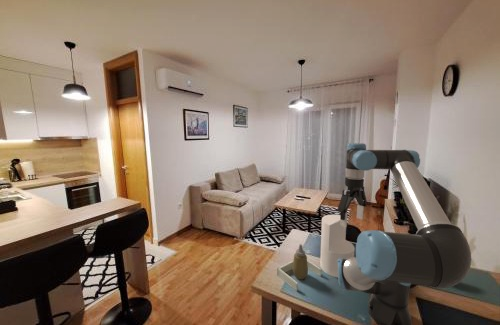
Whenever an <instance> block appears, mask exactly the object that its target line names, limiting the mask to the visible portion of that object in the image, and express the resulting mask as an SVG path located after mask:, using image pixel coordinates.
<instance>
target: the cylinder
mask: <svg viewBox="0 0 500 325" xmlns="http://www.w3.org/2000/svg"><path fill="white" fill-rule="evenodd" d="M320 234H321V236H320V259H319V261H320V262H319V263H320V264H319V268H321V269H322V272H324V273H325V274H327V275H329V276H330V277H334V278H335V279H336V278H338V263H337V261H338V259H347V260H348V259H349V258H353V257H355V251H356V247H355V245H354V244H353V243H352V242H350V241H348V240H347V238H346V235H347V227H343V226H341V225H340V215H339V214H328V215H324V216H322V218H321V232H320Z"/></svg>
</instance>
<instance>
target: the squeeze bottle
mask: <svg viewBox="0 0 500 325" xmlns="http://www.w3.org/2000/svg"><path fill="white" fill-rule="evenodd" d="M293 260H294V261H293ZM293 260H292V261H293V269H292V273H293V275H294V277H295V279H297V280H304V279H306V277H307V275H308V272H309V268H308V265H307V260H308V256H307V254H306V251H305V250H304V249H303V245H302V243H301V244H299V246H298V249H295V253H294V254H293Z"/></svg>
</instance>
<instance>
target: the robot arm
mask: <svg viewBox="0 0 500 325" xmlns="http://www.w3.org/2000/svg"><path fill="white" fill-rule="evenodd" d="M346 146H347V147H346V157H345V158H346V159H345V161H346V162H345V179H344V185H345V187H347V188H346V189H343V190H342V193H341V197H340V200H339V204H338V206H337V209H336V210H337V212H339V213H340V225H341V226H343V227H346V228H348V212H347V211H348V210H349V207H350V205H351V203H352V201H354V200H356V202H357V206H356V219H358V220H363V219H364V209H365V208H364V207H367V203H368V201H367V198H366V197H367V196H366V192H365V186H364V185H365V184H364V182H365V179H364V178H365V172H367V171H370V170H389V171H391V173H392V176H393V178H394V180H395V182H396V184H397V186H398V187H397V188H398V189H399V191H400V193H401V195H402V198H403V200H404V202H405V205H406V207H407V209H408V211H409V213H410V215H411V218H412V219H413V222H414V224H415V227H416V228H417V231H416V233H415V234H414V233H413V234H412V233H404V232H403V233H402V232H401V233H400V232H392V231H391V232H390V231H382V230H379V229H378V230H377V229H376V230H375V229H373V230H364V231H362V232H360V233H359V234H358V236H357V239H356V243H355V256H354V257H353V258H349V259H348V260H347V259H338V261H337V263H338V285H339V288H340V289H341V290H345V291H352V292H358V293H366V294H371V296H370V298H369V300H368V302H367V312H368V315H369V316H370V317H371V319H372V320H374V322H375V323H377V324H378V325H412V323H413V322H412V316H411V312H410V309H409V306H408V305H409V297H410V291H411V290H410V289H411V285H416V286H423V287H424V286H426V287H431V288H438V289H439V288H440V289H446V288H447V289H448V288H451V287H454V286H457V285H458V284H459V283H461V282H462V281H463V280H465V278H466V277H467V275H468V274H469V272H470V270H471V265H472V252H471V248H470V244H469V241H468V239H467V238H466V236H465V234H464V233H463V231H462V230H461V228H460V227H459V226H458V225H456V224H453V223H452V222H451V220H449V217H448V216H447V214H446V213H445V211H444V210H443V208H442V206H441V204H440V203H439V201H438V199H437V198H436V196H435V195H434V193H433V191H432V190H431V188H430V186H429V185H428V183H427V181H426V180H425V178H424V176H423V175H422V173H421V172H420V170H419V167H420V165H421V158H420V154H419V153H418V152H417V151H415V150H411V149H367V144H366V143H362V142H361V143H360V142H358V143H357V142H355V143H354V142H351V143H348V144H347V145H346Z"/></svg>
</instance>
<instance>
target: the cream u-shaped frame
mask: <svg viewBox="0 0 500 325" xmlns="http://www.w3.org/2000/svg"><path fill="white" fill-rule="evenodd" d="M293 261H294V259H292V260H291V261H289V262H287V263H285V264H283V265H281V266H279V267H277V268H276V275H277V276H278V277H279V278H280V279H281V280H283V281H284V282H285V283H286V284H287V285H289V286H290V288H292V289H293V290H295V292H297V291H298V290H299V283H298V281H296V280H295V279H294V278H293V277H291V276H290V275H289V274H287V273H286V272H289V271H291V270H293ZM307 265H308V270H311V272H313V273H314V274H316V275H317V276H319V277H322V274H323V273H322V272H323V270H322V268H321V267H320V266H318V265H316V264H315V263H313V262H312V261H310V260H309V259H307Z"/></svg>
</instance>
